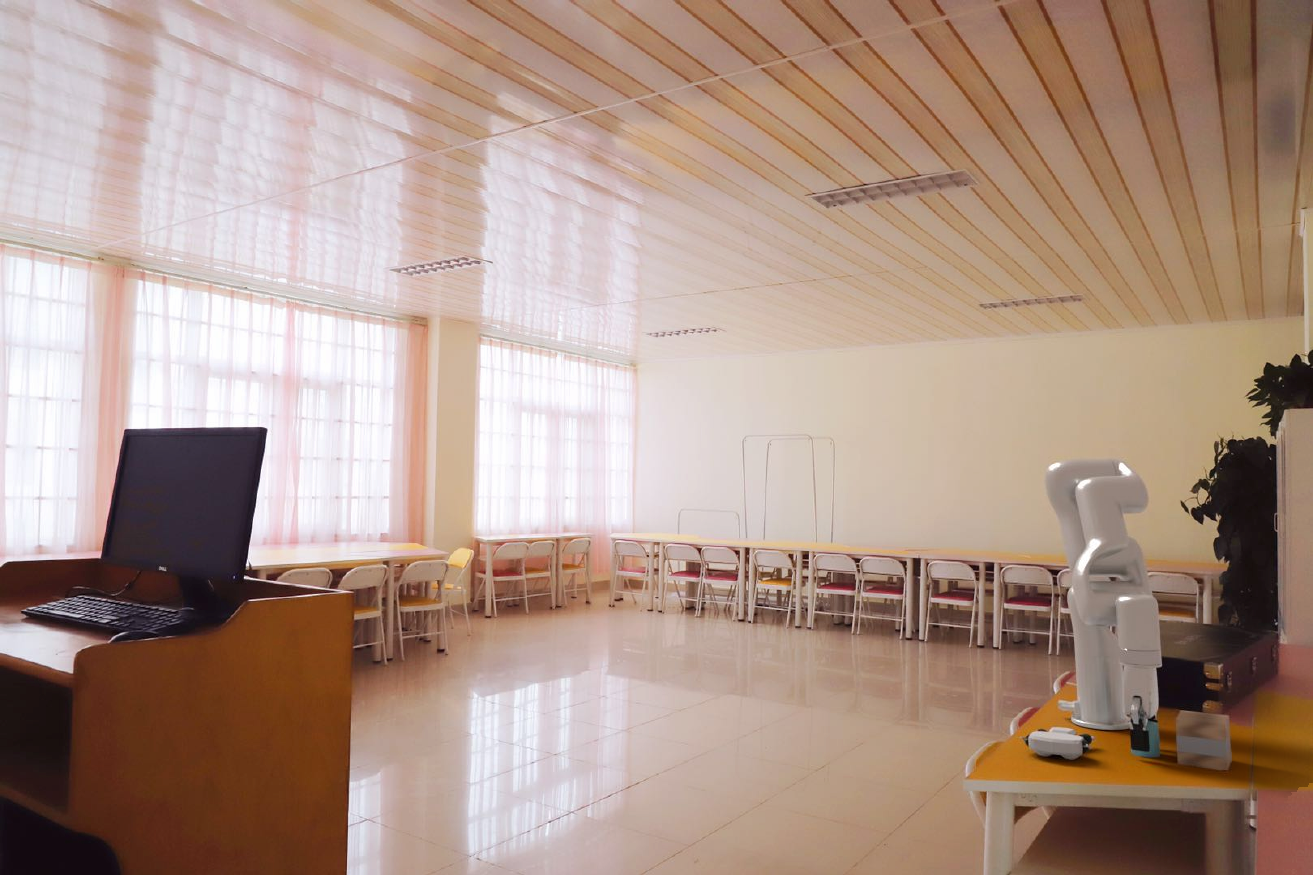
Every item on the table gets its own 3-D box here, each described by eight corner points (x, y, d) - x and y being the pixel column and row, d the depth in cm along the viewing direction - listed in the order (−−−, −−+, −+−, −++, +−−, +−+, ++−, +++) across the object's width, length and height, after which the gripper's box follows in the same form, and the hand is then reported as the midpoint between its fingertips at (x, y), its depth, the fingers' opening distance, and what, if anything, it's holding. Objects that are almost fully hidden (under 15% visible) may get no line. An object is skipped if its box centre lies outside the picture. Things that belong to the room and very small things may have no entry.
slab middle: (1177, 751, 170) (1176, 735, 171) (1182, 741, 177) (1181, 725, 177) (1226, 757, 166) (1225, 741, 166) (1230, 747, 172) (1229, 731, 172)
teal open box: (1129, 754, 177) (1127, 723, 177) (1134, 748, 181) (1132, 718, 181) (1157, 758, 174) (1155, 727, 174) (1162, 752, 178) (1160, 721, 178)
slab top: (1176, 734, 171) (1175, 718, 171) (1182, 725, 177) (1181, 710, 177) (1226, 740, 166) (1225, 724, 166) (1229, 731, 172) (1228, 715, 173)
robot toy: (1034, 744, 189) (1019, 757, 177) (1034, 722, 190) (1019, 733, 177) (1099, 752, 182) (1088, 766, 170) (1098, 729, 183) (1087, 741, 171)
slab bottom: (1178, 766, 170) (1177, 750, 171) (1184, 756, 177) (1183, 741, 177) (1227, 773, 166) (1226, 757, 166) (1232, 763, 172) (1231, 747, 172)
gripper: (1127, 649, 188) (1132, 732, 187) (1109, 662, 174) (1115, 752, 173) (1168, 652, 183) (1173, 737, 182) (1153, 666, 170) (1159, 758, 169)
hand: (1145, 744), depth 178 cm, fingers open, 9 cm apart
